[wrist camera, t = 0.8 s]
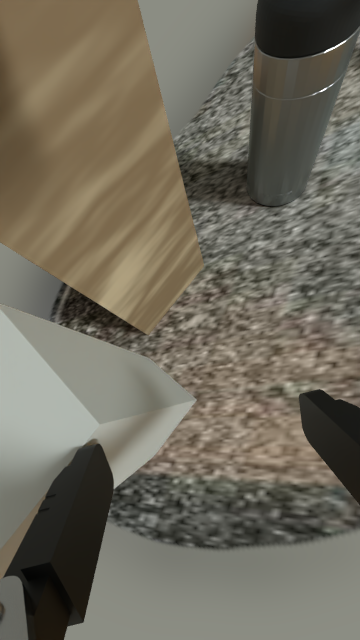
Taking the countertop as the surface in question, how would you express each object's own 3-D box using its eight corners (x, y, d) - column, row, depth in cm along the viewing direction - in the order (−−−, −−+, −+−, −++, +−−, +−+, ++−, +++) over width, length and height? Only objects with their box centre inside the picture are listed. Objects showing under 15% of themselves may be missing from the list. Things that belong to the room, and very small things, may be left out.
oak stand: (204, 265, 35) (43, -376, 6) (148, 335, 34) (-430, -28, 4) (143, 229, 40) (-112, -213, 11) (92, 289, 39) (-355, -27, 9)
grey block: (196, 399, 30) (100, 424, 8) (154, 455, 29) (-71, 640, 8) (149, 358, 33) (-8, 300, 12) (110, 407, 32) (-136, 442, 11)
